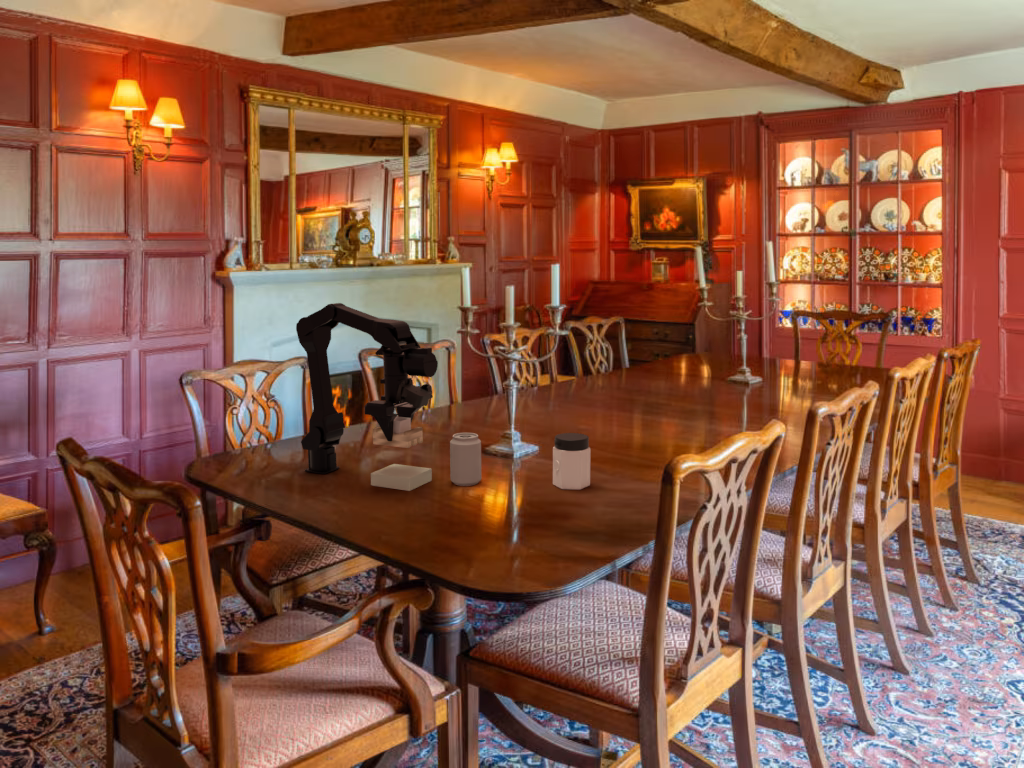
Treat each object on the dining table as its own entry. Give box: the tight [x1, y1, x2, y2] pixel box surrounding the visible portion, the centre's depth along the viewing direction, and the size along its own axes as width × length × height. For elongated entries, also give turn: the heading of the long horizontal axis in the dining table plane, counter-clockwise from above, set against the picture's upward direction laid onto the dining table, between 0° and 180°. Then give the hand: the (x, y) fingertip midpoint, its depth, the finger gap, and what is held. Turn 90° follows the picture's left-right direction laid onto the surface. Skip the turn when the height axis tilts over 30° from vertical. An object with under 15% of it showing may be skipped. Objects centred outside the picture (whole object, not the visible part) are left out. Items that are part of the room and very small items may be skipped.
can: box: [449, 432, 482, 487], centre depth 206 cm, size 8×8×12 cm
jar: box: [552, 432, 591, 491], centre depth 204 cm, size 9×8×12 cm
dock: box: [370, 463, 433, 492], centre depth 207 cm, size 11×10×3 cm
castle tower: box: [372, 426, 424, 449], centre depth 205 cm, size 10×6×4 cm, turn 64°
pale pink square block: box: [393, 416, 412, 434], centre depth 204 cm, size 5×5×3 cm
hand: (397, 438), depth 205 cm, fingers closed on castle tower, 6 cm apart
